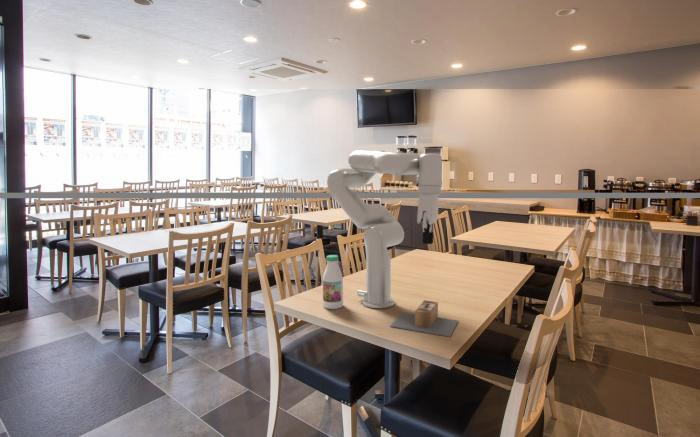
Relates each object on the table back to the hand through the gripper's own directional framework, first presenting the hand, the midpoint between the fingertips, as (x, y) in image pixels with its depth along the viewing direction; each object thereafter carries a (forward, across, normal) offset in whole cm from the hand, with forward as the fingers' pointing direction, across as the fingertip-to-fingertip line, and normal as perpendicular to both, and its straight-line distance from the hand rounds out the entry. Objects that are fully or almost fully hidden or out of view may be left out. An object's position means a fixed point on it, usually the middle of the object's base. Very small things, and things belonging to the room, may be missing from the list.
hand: (427, 243), depth 137 cm
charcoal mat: (+27, +5, +1) cm, 28 cm away
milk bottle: (+28, +3, -36) cm, 46 cm away
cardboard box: (+24, -4, +1) cm, 25 cm away
